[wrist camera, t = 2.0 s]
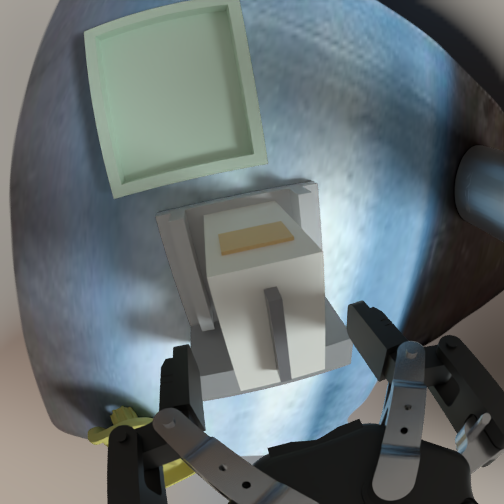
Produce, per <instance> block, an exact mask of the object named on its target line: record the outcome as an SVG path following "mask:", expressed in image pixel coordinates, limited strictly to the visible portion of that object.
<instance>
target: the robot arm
mask: <svg viewBox="0 0 504 504" xmlns="http://www.w3.org/2000/svg"><path fill="white" fill-rule="evenodd" d="M455 202H456V207H457V210H458V212H459V214H460V216H461V217H462V218H463V219H464V220H465V221H467V222H469V223H471V224H473V225H474V226H476V227H478V228H480V229H482V230H484V231H485V232H487V233H489V234H490V235H492V236H494V237H496V238H497V239H499V240H501V241H503V242H504V151H502V150H498V149H494V148H490V147H486V146H482V145H475V146H473V147H471V148H470V149H469V150H468V151H467V152H466V153H465V155H464V156H463V158H462V160H461V162H460V165H459V168H458V170H457V175H456V180H455ZM347 333H348V336H349V338H350V340H351V341H352V342H353V344H354V345H355V347H356V348H357V350H358V351H359V353H360V354H361V356H362V357H363V359H364V360H365V362H366V363H367V365H368V366H369V368H370V369H371V371H372V372H373V374H374V375H375V377H376V378H377V380H378V381H382V380H384V379H387V381H388V386H387V391H386V397H385V401H384V406H383V411H382V415H381V419H380V422H379V424H371V423H369V424H362V423H361V422H360V420H359V419H358V420H355V421H353V422H350V423H347V424H345V425H342V426H339V427H337V428H336V429H334V430H333V431H331V432H329V433H328V434H326V435H324V436H323V437H321V438H319V439H317V440H311V441H299V442H290V443H286V444H282V445H278V446H274V447H270V448H268V451H269V454H267V455H265V456H263V457H262V458H260V459H259V460H257V461H256V462H255V463H254V464H253V465H251V464H250V463H248V462H247V461H246V460H244V459H243V458H241V457H240V456H239V455H237V454H236V453H234V452H233V451H232V450H230V449H229V448H228V447H226V446H225V445H224V444H223V443H221V442H220V441H219V440H217V439H216V438H214V437H210V436H208V435H207V434H206V433H204V432H203V431H206V429H205V420H204V411H203V401H202V390H201V379H200V372H199V368H198V365H197V363H196V360H195V358H194V355H193V353H192V350H191V348H190V346H189V344H187V345H182V346H176V347H174V348H173V358H169V359H165V361H164V363H163V365H162V367H161V379H160V383H161V385H160V403H159V412H158V413H157V414H156V415H155V416H154V418H153V421H152V422H150V423H149V424H146V425H144V426H141V427H139V428H136V429H134V428H133V427H131V426H129V425H120V426H117V427H116V428H114V429H113V430H112V431H111V433H110V435H109V439H108V464H107V494H108V495H107V496H108V497H107V498H108V504H167V496H166V489H165V481H164V472H163V465H165V464H167V463H170V462H173V461H175V460H177V459H181V460H183V461H184V462H185V463H186V464H187V465H188V466H189V467H190V468H191V469H192V470H193V471H194V472H195V473H197V474H198V475H199V476H200V477H201V478H202V479H203V480H205V481H206V482H207V483H208V484H209V485H210V486H211V487H213V488H214V489H215V490H216V491H217V492H218V493H220V494H221V495H222V496H223V497H225V498H226V499H227V500H229V503H228V504H478V503H477V502H476V501H475V499H474V497H473V494H472V489H471V474H472V473H473V472H475V471H476V470H477V469H479V468H480V467H485V466H488V465H489V464H491V463H492V462H493V461H494V460H495V459H496V458H498V457H499V456H500V455H501V454H502V453H503V452H504V391H503V390H502V389H501V387H500V386H499V385H498V384H497V382H496V381H495V380H494V379H493V378H492V376H491V375H490V374H489V372H488V371H487V370H486V369H485V368H484V366H483V365H482V364H481V363H480V362H479V360H478V359H477V358H476V357H475V356H474V354H472V352H471V351H470V350H469V349H468V348H467V346H466V345H465V344H464V343H463V342H462V341H461V340H460V339H459V338H458V337H456V336H452V335H447V336H444V337H442V338H441V339H440V341H439V343H438V345H435V346H428V347H423V346H422V345H421V344H419V343H417V342H414V341H408V340H407V339H406V338H405V337H404V336H403V334H402V333H401V332H400V331H399V330H398V329H397V328H396V326H395V325H394V324H392V322H391V321H390V320H389V319H388V317H387V316H386V315H385V314H384V313H383V312H382V311H380V310H378V309H377V308H375V307H372V308H369V306H368V305H367V304H366V303H365V302H364V301H359V302H356V303H353V304H350V305H348V313H347ZM427 387H428V389H429V390H430V392H431V393H432V395H433V396H434V398H435V399H436V401H437V402H438V404H439V405H440V407H441V408H442V410H443V411H444V413H445V415H446V416H447V418H448V419H449V421H450V423H451V424H452V426H453V427H454V429H455V431H456V432H457V435H456V439H455V443H456V450H457V451H458V452H457V451H454V450H451V449H448V448H445V447H442V446H439V445H436V444H433V443H430V442H427V441H424V440H421V437H422V430H423V423H424V414H425V404H426V391H427Z"/></svg>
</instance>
